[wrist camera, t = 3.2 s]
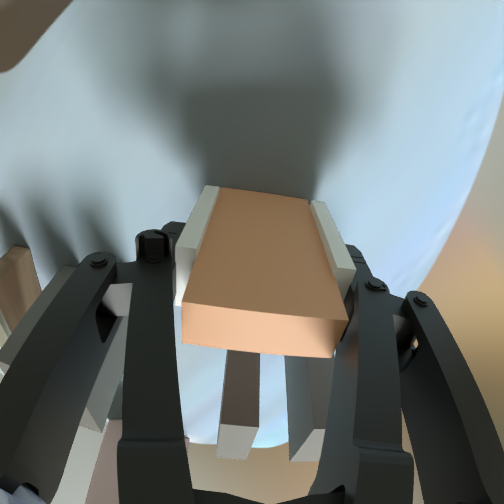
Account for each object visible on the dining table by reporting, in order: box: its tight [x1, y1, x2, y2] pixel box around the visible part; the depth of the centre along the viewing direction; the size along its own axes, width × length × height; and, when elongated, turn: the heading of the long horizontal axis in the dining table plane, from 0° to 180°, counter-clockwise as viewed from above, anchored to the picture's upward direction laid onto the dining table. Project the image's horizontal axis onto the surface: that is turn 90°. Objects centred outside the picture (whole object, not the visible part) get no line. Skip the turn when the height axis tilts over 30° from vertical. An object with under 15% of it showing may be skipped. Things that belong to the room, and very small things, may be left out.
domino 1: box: [0, 265, 76, 374], centre depth 17 cm, size 2×5×10 cm, turn 172°
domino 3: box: [216, 349, 260, 460], centre depth 18 cm, size 2×5×10 cm, turn 172°
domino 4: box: [284, 353, 335, 462], centre depth 18 cm, size 2×5×10 cm, turn 172°
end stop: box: [0, 246, 42, 348], centre depth 19 cm, size 2×7×6 cm, turn 172°
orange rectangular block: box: [181, 187, 349, 358], centre depth 13 cm, size 2×5×10 cm, turn 82°
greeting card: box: [85, 419, 189, 504], centre depth 26 cm, size 11×7×15 cm, turn 80°
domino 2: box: [79, 315, 129, 433], centre depth 18 cm, size 2×5×10 cm, turn 172°
